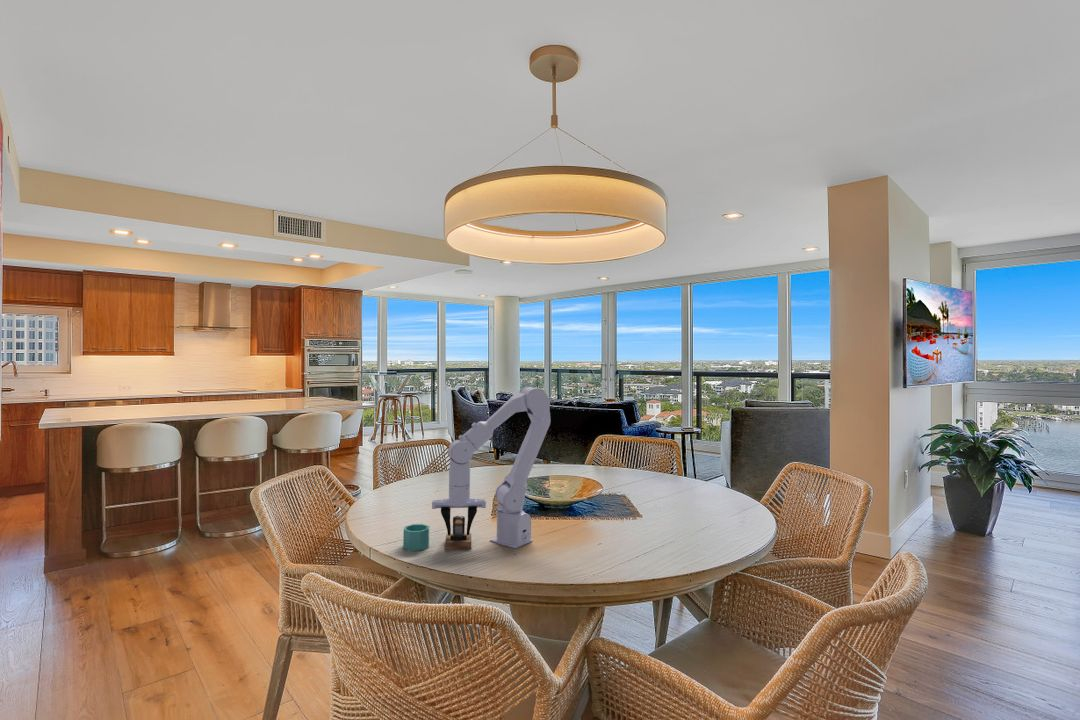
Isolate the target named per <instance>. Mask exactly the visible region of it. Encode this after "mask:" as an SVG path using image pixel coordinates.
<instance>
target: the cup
mask: <svg viewBox="0 0 1080 720" xmlns="http://www.w3.org/2000/svg"><path fill="white" fill-rule="evenodd" d="M402 537H403V538H402V539H403V540H402V541H403V542H402V543H403V544H402V546H403V548H402V549H403V550H407V551H414V552H416V551H423V550H425V549H428V548H429V547H430V546H429V545H430V525H428V524H424V523H415V524H414V523H412V524H409V525H406V526H404V528H403V536H402Z"/></svg>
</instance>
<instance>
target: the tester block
mask: <svg viewBox="0 0 1080 720" xmlns="http://www.w3.org/2000/svg"><path fill="white" fill-rule="evenodd" d="M444 550H445V551H447V550H448V551H455V550H457V551H458V550H460V551H461V550H472V533H469V535H467V533H465V537H464V540H460V541H453V533H451V534H450V536H448V533H446V534H445V541H444Z"/></svg>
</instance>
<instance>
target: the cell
mask: <svg viewBox="0 0 1080 720" xmlns="http://www.w3.org/2000/svg"><path fill="white" fill-rule="evenodd" d="M465 519H466V517H465V516H463V515H460V514H458V515H455V516H452V534H453V541H460V540H464V537H465V534H466V532H465V531H466V529H465V525H466V520H465Z"/></svg>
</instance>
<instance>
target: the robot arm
mask: <svg viewBox="0 0 1080 720" xmlns="http://www.w3.org/2000/svg"><path fill="white" fill-rule="evenodd" d="M550 404H551V399H550V398H549V396H548V394H547V393H546V391H545V390H544V389H542V388H539V387H532V386H524V387H522V388H521V389H520V390H519V391H518V392H516V393H513V395H512V396H511V397H510V398H509V399H508V400H507V401H506V402H505V403H503V405H501V406H500V407H499V408H498V409H497V410H496V411H495V412H494V413H493V414H492V415H491V416H490V417H488V419H487V420H486V421H483V420H481V421H477V423H476V422H475V421H474V422H473V423H471V428H469V429H468V430H467V431H466V432H464V434H460V435H459V436H458V439H456V440H453V441H452V442H451V443H450V445H448V446H449V447H448V449H447V455H448V457H450V459H449V467H448V468H449V469H448V498H444V499H432V501H431V509H432V510H436V509H440V513H441V516H442V518H443V521H444V523H445V527H446V530H447V534H448V536H450V534H452V533H451V531H452V528H451V527H452V526H451V510H452V509H461V508H462V509H463V508H465V509H466V508H467V525H466V534H467V535H469V533H470V532H471V531H470V530H471V527H472V525H473V524H472V523H473V521H474V519H475V517H476V514H477V512H478V508H481V509H486V508H487V505H486V504H487V500H486V498H485V499H482V498H471V497H470V495H471V494H470V493H471V467H470V466H471V464H470V463H471V460H472V458H473V456H474V453H476V452H477V451H478V450H479V449H481V448H482V447H483V446H484V445H485V444H486V443H487V442H488V441H490V439H492V438H493V435H494V430H495V429H496V428H498V427H500V426H501V424H503V423H505V422H506V421H507V420H508V419H509V418H510V417H512V416H513V415H515V414H516V413H521V412H522V413H523V412H526V413H527V416H528V418H529V419H530V423H529V427H528V430H527V431H526V434H525V436H524V439H523V441H522V443H521V446H520V448H519V450H518V452H517V455H516V458H515V460H514V463H513V465H512V466H511V470H510V471H509V473H508V474H507V475H506V476H504V479H503V481H502V483H500V484H499V485H498V487H496V490H495V499H496V501H498V504H497V507H496V536H495V537H492V538H489V541H490V542H492V543H495V544H498V545H502V546H506V547H509V548H513V549H517V548H519V547H522V546H525V545H527V544H530V543H531V542H533V541H534V540H533V539H532V518H531V516H530V514H528V513H526V512H525V511H524V510H523V507H524V505H525V502H526V493H527V489H528V484H527V480H528V478H529V476H530V472H531V471H532V469H533V467H534V464H535V461H536V459H537V457H538V454H539V452H540V449H541V447H542V446H543V442H544V439H545V437H546V436H547V432H548V430H549V428H550V426H551V423H552V422H551V421H552V420H551V412H550V411H551V410H550Z"/></svg>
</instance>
